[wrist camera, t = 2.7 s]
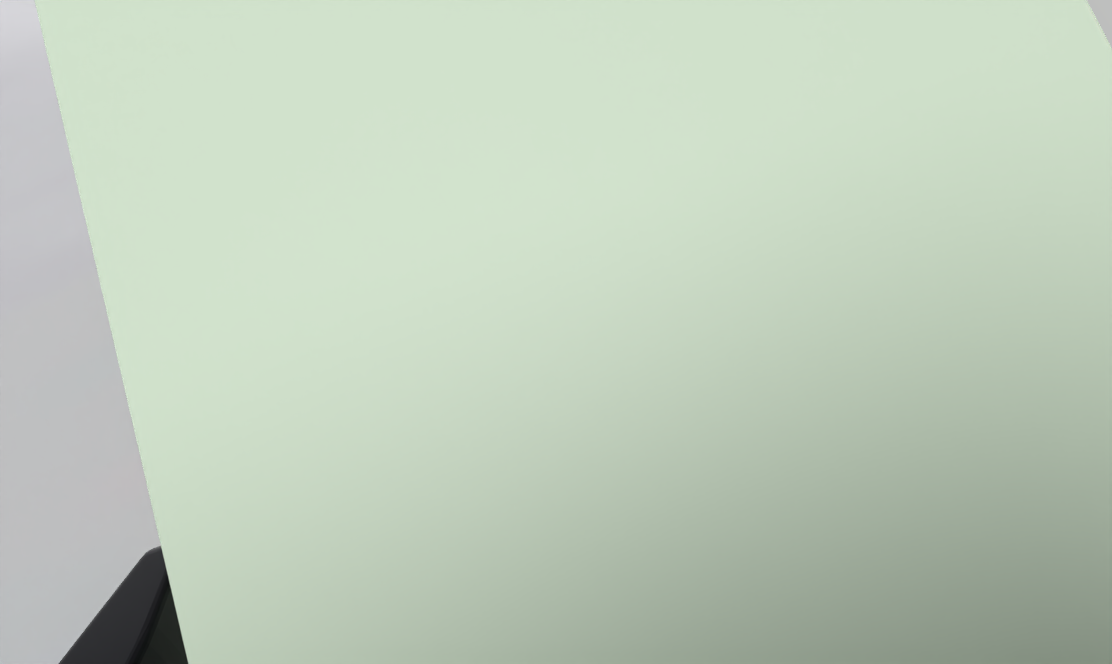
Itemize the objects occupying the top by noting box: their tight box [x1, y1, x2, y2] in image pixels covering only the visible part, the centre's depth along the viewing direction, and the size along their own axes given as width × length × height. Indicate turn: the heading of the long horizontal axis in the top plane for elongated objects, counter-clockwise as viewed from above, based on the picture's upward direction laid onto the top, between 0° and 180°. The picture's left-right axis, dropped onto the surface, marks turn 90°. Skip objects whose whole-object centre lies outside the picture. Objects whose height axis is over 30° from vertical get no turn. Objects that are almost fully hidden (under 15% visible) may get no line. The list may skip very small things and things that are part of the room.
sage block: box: [35, 0, 1112, 664], centre depth 10 cm, size 5×5×14 cm
